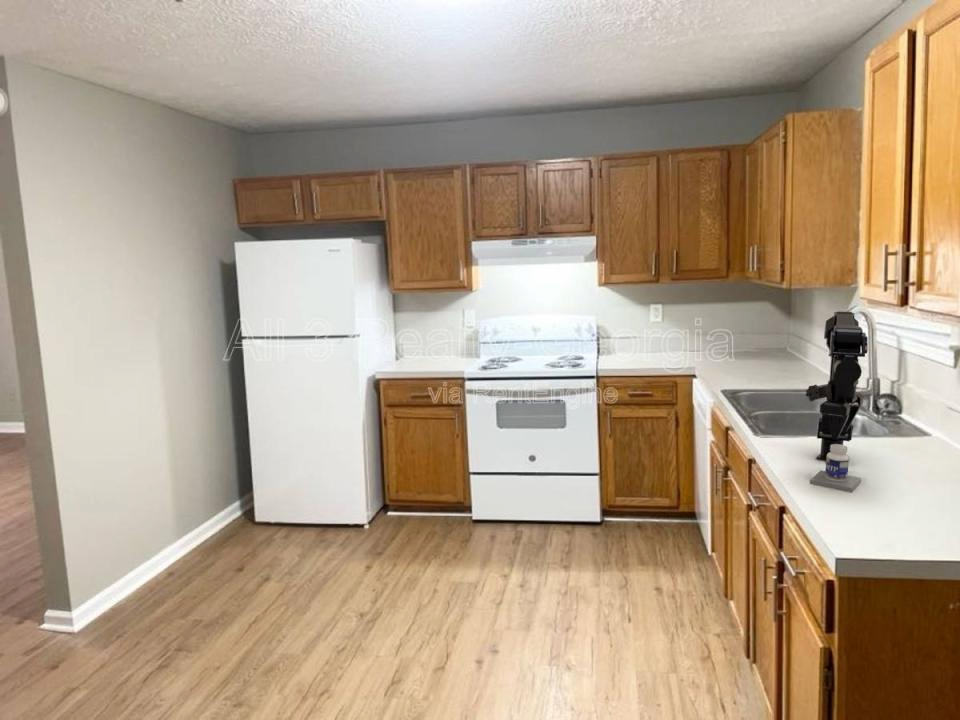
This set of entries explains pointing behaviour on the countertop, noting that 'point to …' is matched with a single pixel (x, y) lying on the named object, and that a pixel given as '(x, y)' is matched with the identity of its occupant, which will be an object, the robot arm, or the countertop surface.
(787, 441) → the countertop surface
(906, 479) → the countertop surface
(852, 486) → the ceramic coaster
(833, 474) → the pill bottle
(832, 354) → the robot arm
